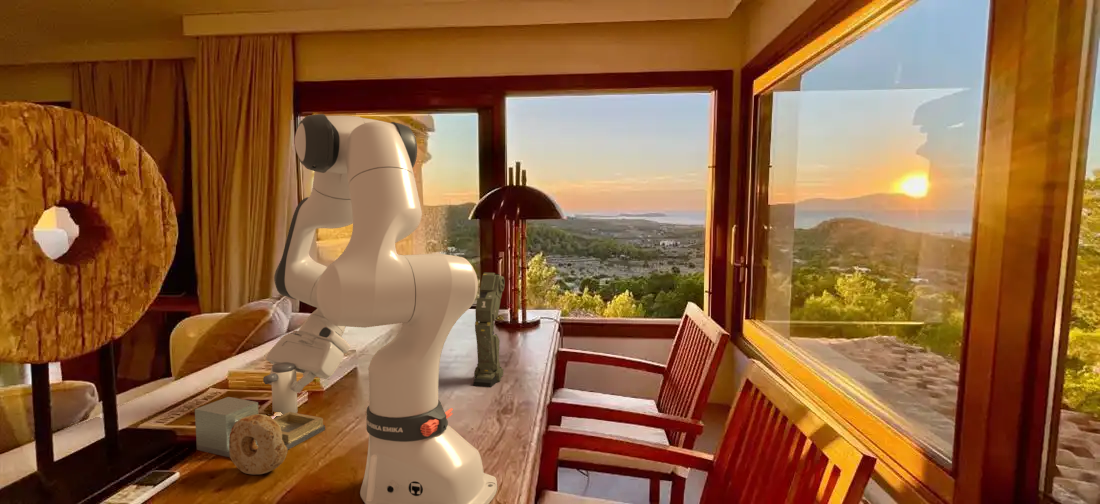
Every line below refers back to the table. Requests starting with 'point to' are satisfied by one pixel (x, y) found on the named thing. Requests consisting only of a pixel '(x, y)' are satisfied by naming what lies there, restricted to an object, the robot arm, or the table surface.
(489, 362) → the mechanical leg
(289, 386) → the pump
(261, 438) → the stone disc
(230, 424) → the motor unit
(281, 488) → the table surface
